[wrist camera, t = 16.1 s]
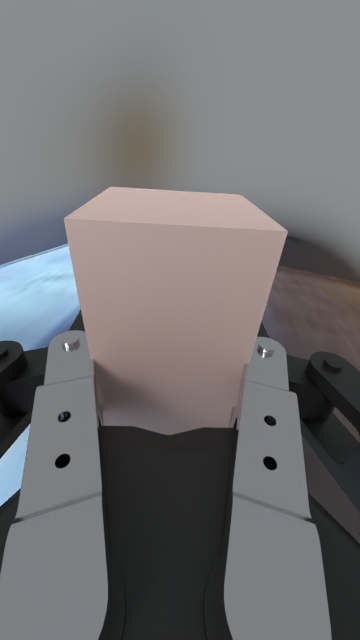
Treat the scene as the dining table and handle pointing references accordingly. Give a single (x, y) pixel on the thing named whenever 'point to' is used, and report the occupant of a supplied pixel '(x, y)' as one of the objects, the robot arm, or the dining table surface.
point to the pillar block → (171, 301)
